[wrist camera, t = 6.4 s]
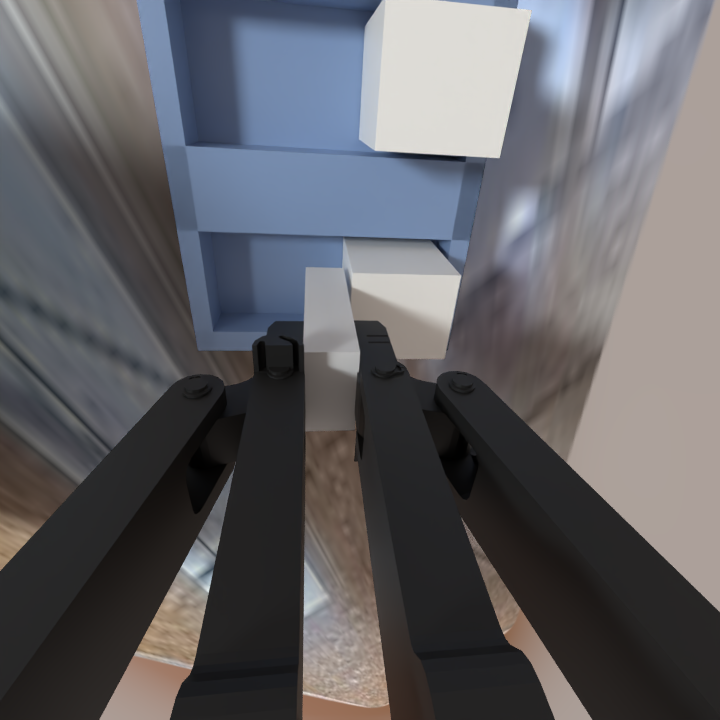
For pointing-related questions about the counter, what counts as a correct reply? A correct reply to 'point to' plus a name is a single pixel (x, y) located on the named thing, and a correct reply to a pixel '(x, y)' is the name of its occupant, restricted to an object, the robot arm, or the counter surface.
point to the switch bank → (283, 156)
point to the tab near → (440, 76)
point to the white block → (403, 291)
